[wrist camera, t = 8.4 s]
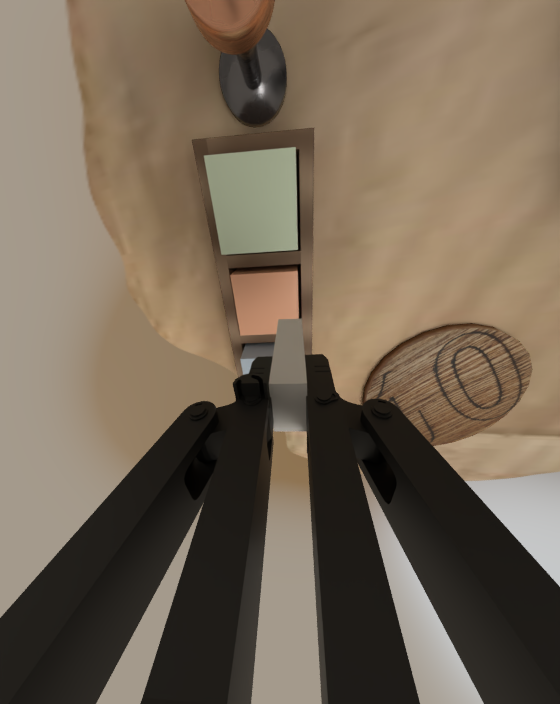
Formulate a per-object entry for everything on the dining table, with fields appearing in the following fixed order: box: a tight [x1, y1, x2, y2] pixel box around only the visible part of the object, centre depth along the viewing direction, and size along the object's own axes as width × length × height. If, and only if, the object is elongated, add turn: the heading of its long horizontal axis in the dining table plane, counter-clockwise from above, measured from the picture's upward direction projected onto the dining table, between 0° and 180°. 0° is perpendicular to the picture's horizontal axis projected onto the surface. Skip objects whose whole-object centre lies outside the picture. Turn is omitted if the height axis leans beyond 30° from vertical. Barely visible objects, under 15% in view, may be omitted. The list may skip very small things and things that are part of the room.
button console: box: [192, 128, 314, 377], centre depth 28 cm, size 28×10×6 cm, turn 4°
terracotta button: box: [230, 264, 299, 336], centre depth 26 cm, size 7×7×4 cm
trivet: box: [363, 323, 532, 446], centre depth 38 cm, size 25×25×2 cm
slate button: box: [240, 342, 275, 375], centre depth 29 cm, size 7×7×4 cm
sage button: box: [204, 147, 298, 255], centre depth 20 cm, size 7×7×4 cm
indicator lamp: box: [185, 0, 287, 127], centre depth 15 cm, size 6×6×12 cm
